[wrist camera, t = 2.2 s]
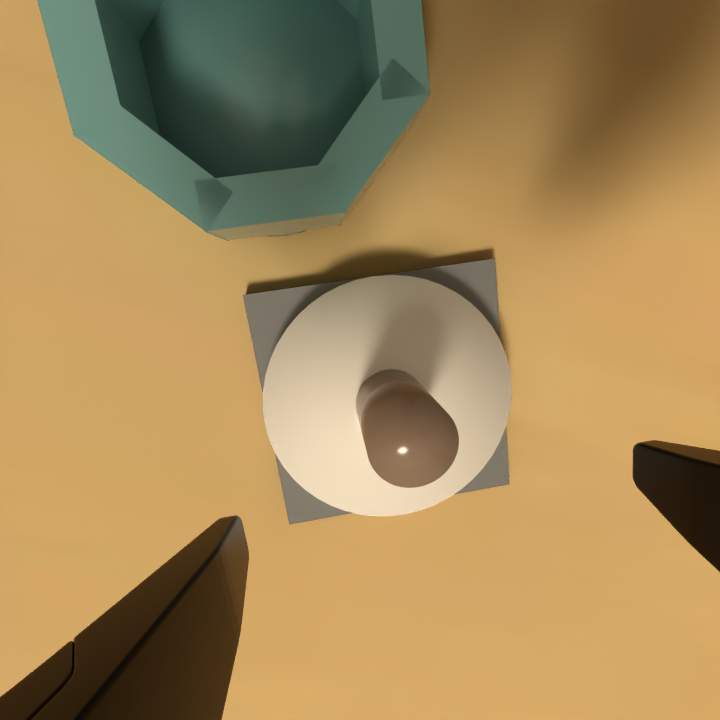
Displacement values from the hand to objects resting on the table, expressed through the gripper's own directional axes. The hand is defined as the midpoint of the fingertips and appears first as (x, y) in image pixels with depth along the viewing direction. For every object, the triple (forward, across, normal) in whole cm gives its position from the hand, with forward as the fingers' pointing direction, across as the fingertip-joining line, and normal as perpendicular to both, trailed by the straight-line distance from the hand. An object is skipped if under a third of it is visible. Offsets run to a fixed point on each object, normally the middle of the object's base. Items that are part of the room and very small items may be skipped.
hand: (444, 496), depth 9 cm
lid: (+8, 0, 0) cm, 8 cm away
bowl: (+8, +3, -12) cm, 15 cm away
